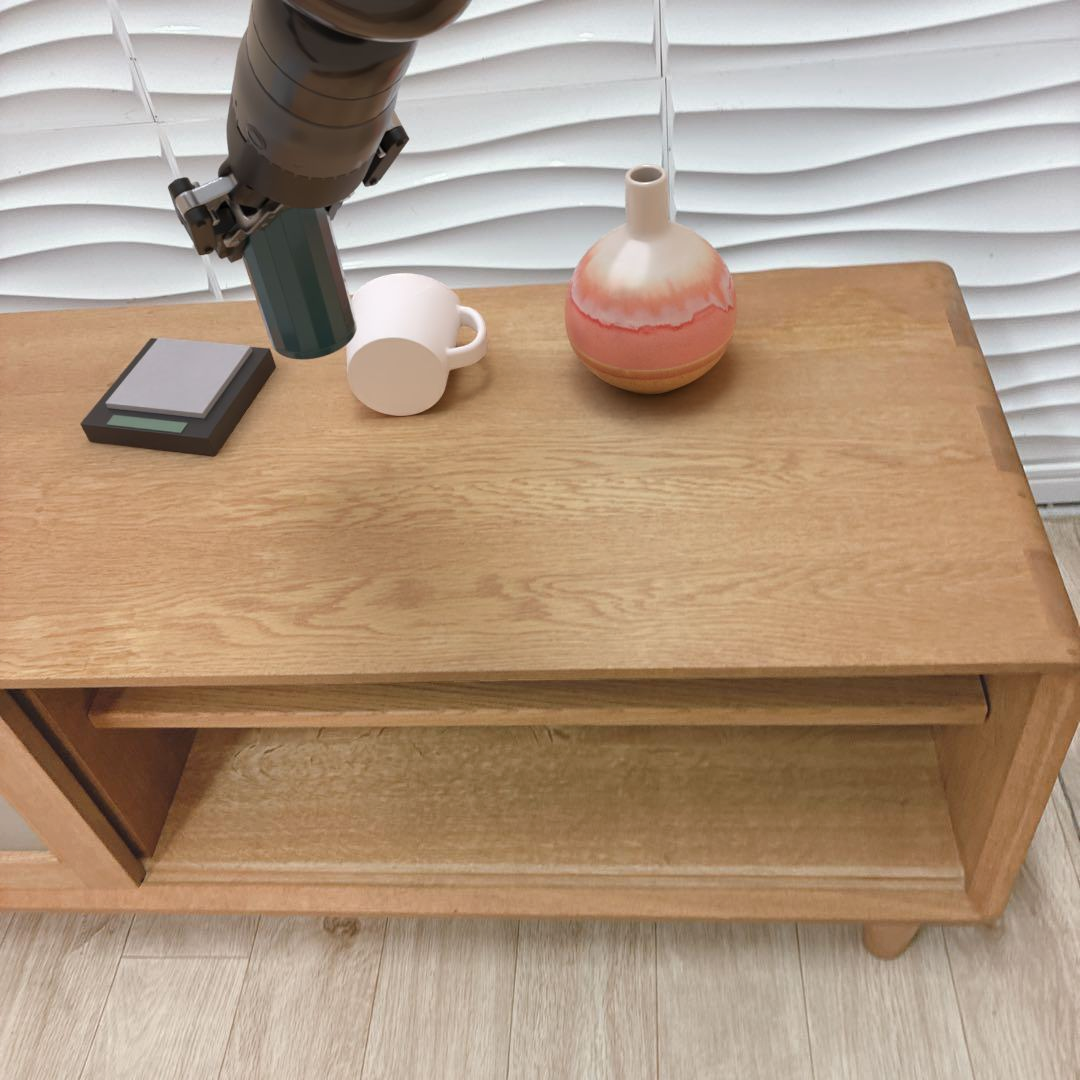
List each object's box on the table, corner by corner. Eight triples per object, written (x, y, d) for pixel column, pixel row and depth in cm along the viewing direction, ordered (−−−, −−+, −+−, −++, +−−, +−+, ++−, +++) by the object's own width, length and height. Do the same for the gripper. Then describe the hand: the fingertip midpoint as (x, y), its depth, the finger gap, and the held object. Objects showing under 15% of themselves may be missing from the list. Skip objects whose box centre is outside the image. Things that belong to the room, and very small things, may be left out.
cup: (336, 363, 70) (293, 209, 62) (257, 355, 71) (204, 204, 64) (369, 312, 74) (332, 161, 66) (293, 306, 75) (248, 157, 67)
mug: (349, 421, 89) (326, 342, 83) (359, 353, 96) (338, 276, 90) (493, 408, 88) (479, 328, 83) (493, 340, 95) (481, 262, 89)
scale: (215, 456, 88) (204, 432, 86) (89, 441, 91) (76, 418, 89) (276, 366, 96) (268, 342, 94) (158, 355, 98) (148, 332, 97)
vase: (741, 419, 85) (751, 216, 72) (568, 427, 86) (547, 230, 73) (728, 317, 94) (734, 122, 81) (572, 326, 95) (554, 135, 83)
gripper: (400, -13, 55) (343, 135, 71) (135, 79, 50) (137, 216, 66) (470, 121, 56) (399, 238, 71) (216, 224, 51) (199, 326, 66)
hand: (273, 227), depth 68 cm, fingers closed on cup, 6 cm apart
